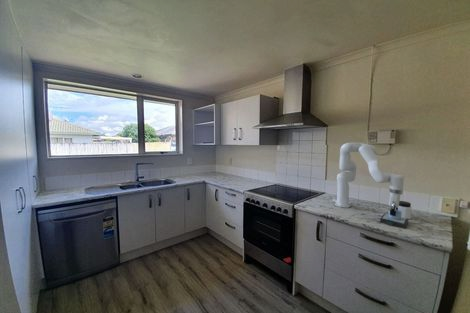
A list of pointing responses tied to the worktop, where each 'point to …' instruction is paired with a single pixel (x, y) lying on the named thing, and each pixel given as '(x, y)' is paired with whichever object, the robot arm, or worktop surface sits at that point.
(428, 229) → the worktop surface
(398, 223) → the scale
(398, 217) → the bowl
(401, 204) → the jar
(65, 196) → the worktop surface
